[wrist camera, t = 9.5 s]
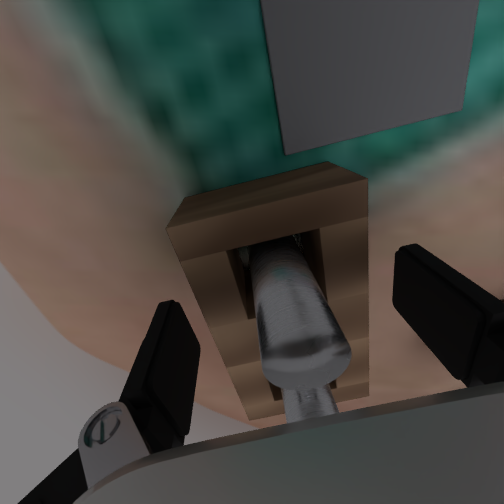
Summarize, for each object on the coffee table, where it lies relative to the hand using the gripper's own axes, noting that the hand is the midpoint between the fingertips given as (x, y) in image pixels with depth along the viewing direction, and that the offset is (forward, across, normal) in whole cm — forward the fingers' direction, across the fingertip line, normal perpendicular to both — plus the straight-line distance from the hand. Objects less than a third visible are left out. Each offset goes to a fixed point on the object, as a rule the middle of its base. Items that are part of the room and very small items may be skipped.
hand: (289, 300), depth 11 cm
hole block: (+7, 0, +4) cm, 8 cm away
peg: (+7, 0, 0) cm, 7 cm away
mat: (+7, -7, -10) cm, 14 cm away
